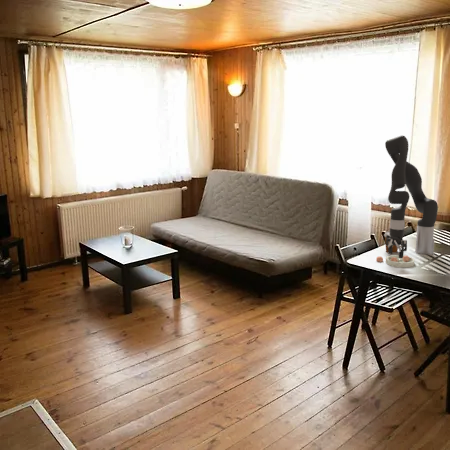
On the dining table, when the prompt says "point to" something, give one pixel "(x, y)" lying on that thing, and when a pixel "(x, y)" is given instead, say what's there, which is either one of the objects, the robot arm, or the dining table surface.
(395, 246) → the disposable coffee cup
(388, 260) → the ring tray
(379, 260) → the peach orange ball
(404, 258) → the salmon orange ball
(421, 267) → the dining table surface
